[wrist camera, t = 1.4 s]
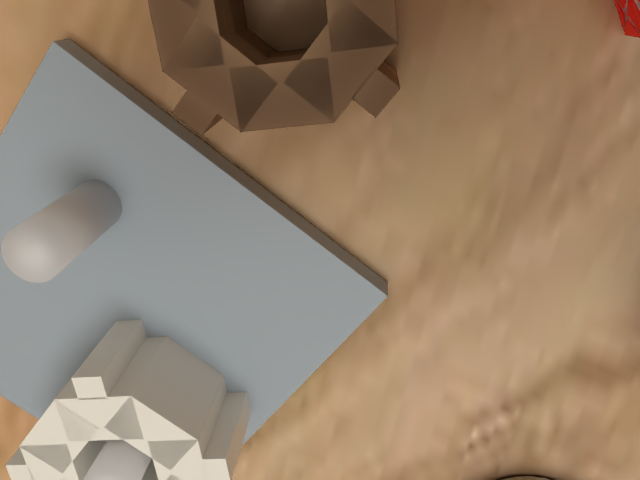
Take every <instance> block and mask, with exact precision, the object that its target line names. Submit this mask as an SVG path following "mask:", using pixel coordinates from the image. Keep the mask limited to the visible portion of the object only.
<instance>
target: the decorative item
mask: <svg viewBox="0 0 640 480" xmlns="http://www.w3.org/2000/svg"><path fill="white" fill-rule="evenodd" d="M502 480H549V479H547V478H540V477H532V476H520V477H512V478H507V479H502Z"/></svg>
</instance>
